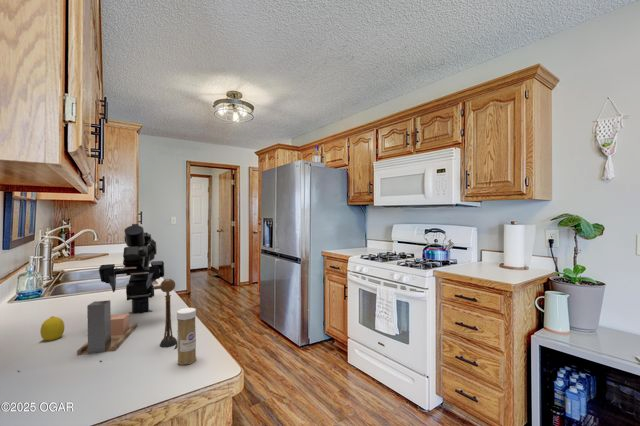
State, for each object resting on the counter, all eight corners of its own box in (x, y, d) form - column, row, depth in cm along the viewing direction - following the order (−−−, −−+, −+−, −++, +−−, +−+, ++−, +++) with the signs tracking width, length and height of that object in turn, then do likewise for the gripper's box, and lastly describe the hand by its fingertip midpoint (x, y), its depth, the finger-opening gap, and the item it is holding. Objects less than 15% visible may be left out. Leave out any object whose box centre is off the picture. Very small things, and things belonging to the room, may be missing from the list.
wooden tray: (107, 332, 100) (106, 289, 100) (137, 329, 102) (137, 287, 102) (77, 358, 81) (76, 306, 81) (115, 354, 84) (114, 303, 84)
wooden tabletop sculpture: (156, 354, 84) (155, 281, 84) (153, 348, 87) (152, 279, 87) (179, 348, 87) (178, 278, 87) (176, 343, 91) (175, 276, 91)
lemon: (37, 344, 92) (36, 317, 92) (59, 337, 97) (59, 312, 97) (45, 347, 89) (45, 320, 89) (68, 340, 94) (67, 314, 94)
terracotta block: (112, 330, 99) (111, 314, 99) (129, 328, 100) (129, 313, 100) (105, 336, 94) (105, 320, 94) (123, 334, 95) (123, 318, 95)
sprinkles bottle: (187, 366, 76) (186, 313, 77) (173, 363, 78) (172, 311, 78) (200, 358, 81) (199, 308, 81) (187, 356, 82) (186, 306, 82)
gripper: (101, 240, 102) (90, 274, 90) (163, 238, 109) (161, 268, 98) (106, 265, 107) (96, 299, 96) (165, 261, 115) (163, 292, 103)
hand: (130, 289), depth 98 cm, fingers open, 9 cm apart
